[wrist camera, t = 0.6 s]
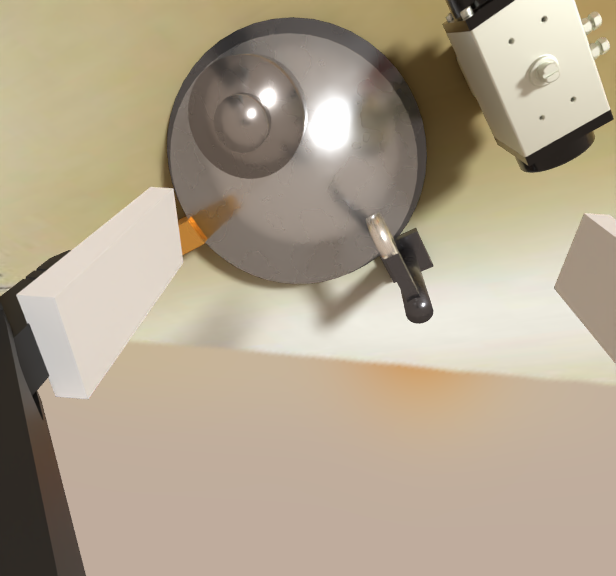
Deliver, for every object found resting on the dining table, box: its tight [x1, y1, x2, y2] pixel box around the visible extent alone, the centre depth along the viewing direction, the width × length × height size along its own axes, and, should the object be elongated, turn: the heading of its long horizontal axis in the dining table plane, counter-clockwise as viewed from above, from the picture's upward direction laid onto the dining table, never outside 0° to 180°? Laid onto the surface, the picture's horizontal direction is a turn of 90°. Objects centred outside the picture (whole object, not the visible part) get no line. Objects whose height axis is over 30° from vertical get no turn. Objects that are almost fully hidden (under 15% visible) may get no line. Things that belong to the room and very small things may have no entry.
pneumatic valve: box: [442, 0, 614, 173], centre depth 26 cm, size 6×12×12 cm, turn 34°
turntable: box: [170, 33, 418, 284], centre depth 35 cm, size 20×26×3 cm
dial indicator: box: [366, 212, 433, 323], centre depth 34 cm, size 10×4×11 cm, turn 29°
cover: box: [188, 53, 308, 179], centre depth 30 cm, size 8×8×5 cm
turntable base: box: [167, 17, 427, 273], centre depth 36 cm, size 22×22×1 cm
